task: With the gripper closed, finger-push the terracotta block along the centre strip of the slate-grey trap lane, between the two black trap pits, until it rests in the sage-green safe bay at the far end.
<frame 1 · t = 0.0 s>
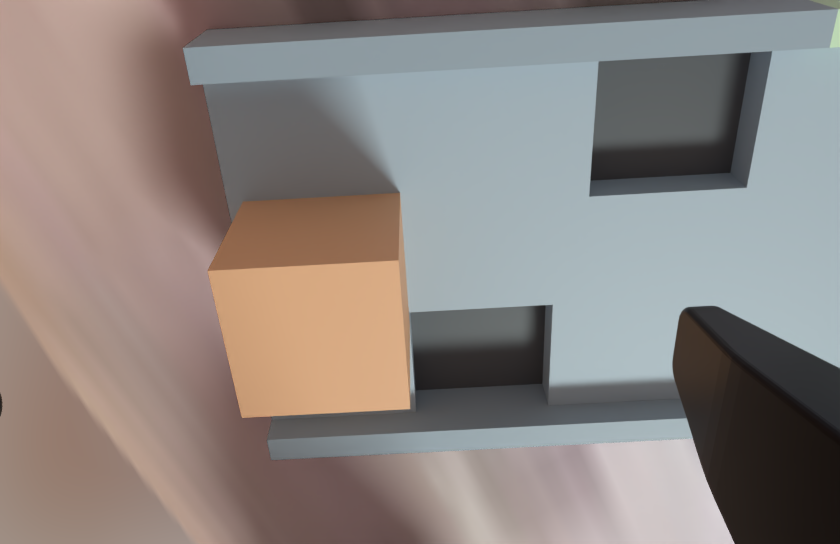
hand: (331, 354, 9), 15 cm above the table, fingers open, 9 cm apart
block: (330, 266, 23), point 1 cm above the table, touching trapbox
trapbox: (590, 231, 25), on the table
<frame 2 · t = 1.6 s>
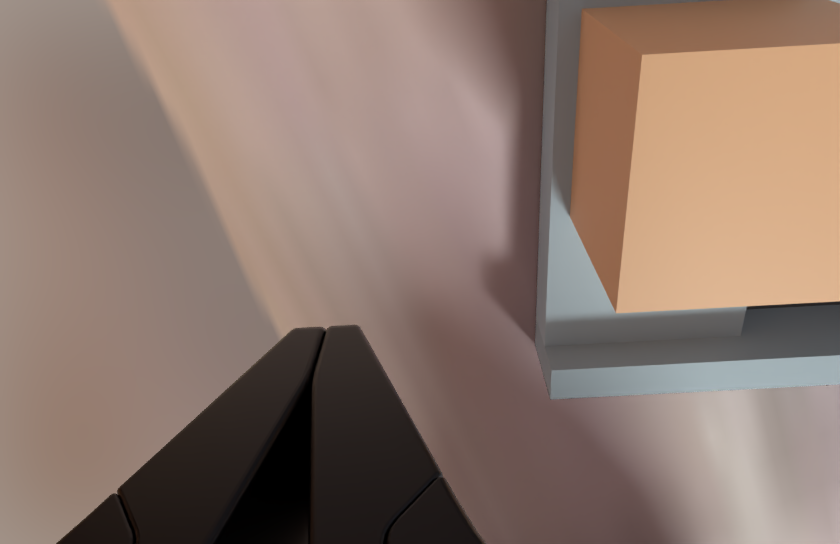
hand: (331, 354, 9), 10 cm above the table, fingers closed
block: (681, 114, 16), point 1 cm above the table, touching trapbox
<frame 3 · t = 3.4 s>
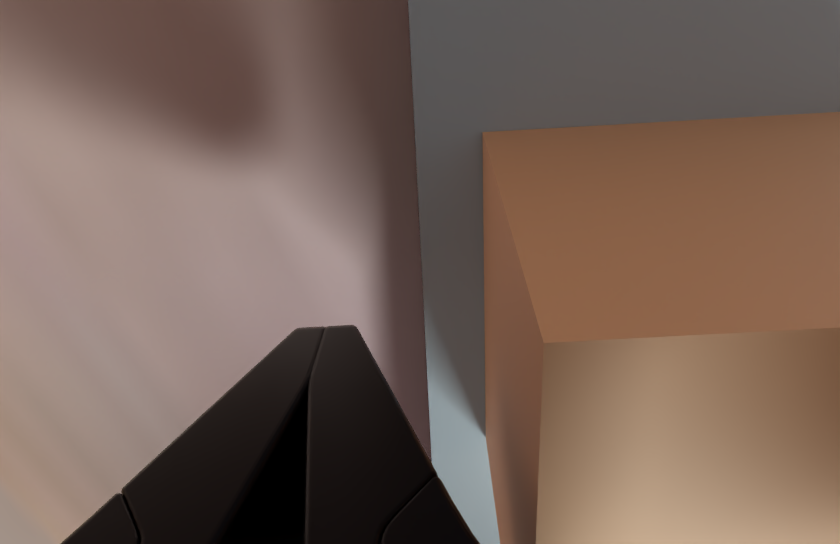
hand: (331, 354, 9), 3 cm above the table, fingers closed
block: (662, 294, 10), point 2 cm above the table, touching gripper, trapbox
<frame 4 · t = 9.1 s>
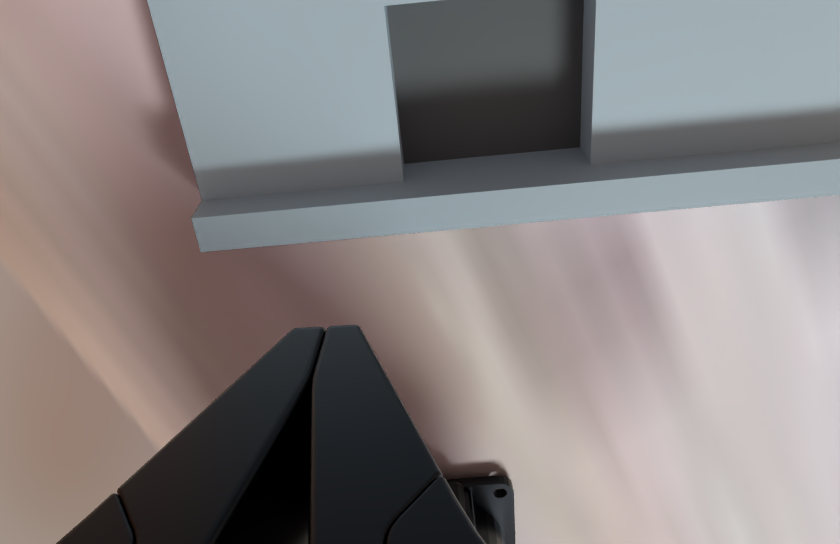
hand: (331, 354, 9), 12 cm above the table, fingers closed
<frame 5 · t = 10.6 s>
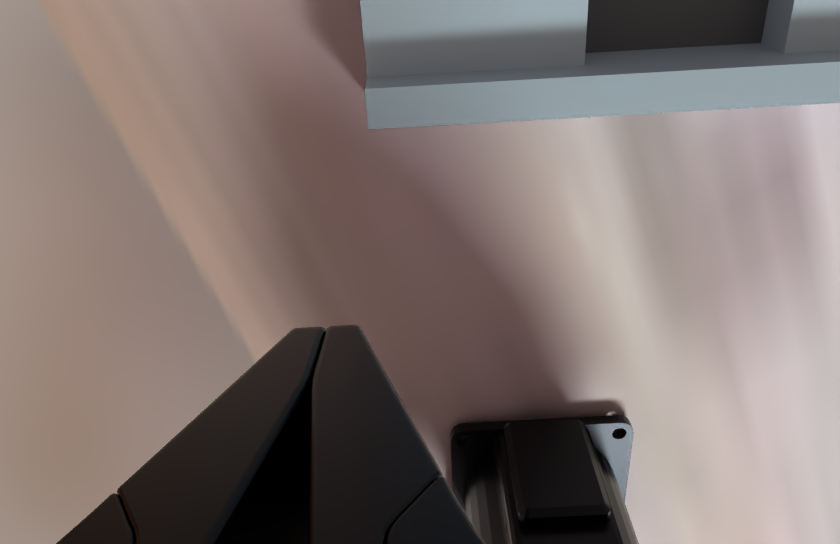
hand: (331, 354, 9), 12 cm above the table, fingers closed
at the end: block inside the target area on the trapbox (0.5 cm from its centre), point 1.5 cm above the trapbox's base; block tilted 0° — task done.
